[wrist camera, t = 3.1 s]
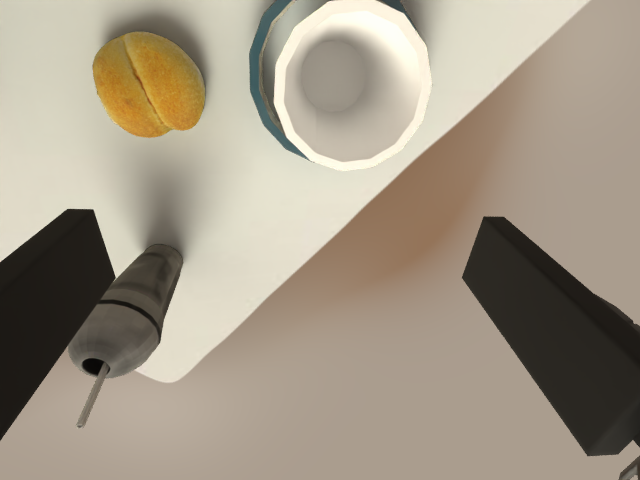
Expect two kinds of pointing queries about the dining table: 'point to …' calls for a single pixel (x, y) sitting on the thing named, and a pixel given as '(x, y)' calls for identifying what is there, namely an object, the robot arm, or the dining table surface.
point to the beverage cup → (126, 320)
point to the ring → (256, 73)
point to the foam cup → (352, 84)
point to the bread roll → (148, 84)
